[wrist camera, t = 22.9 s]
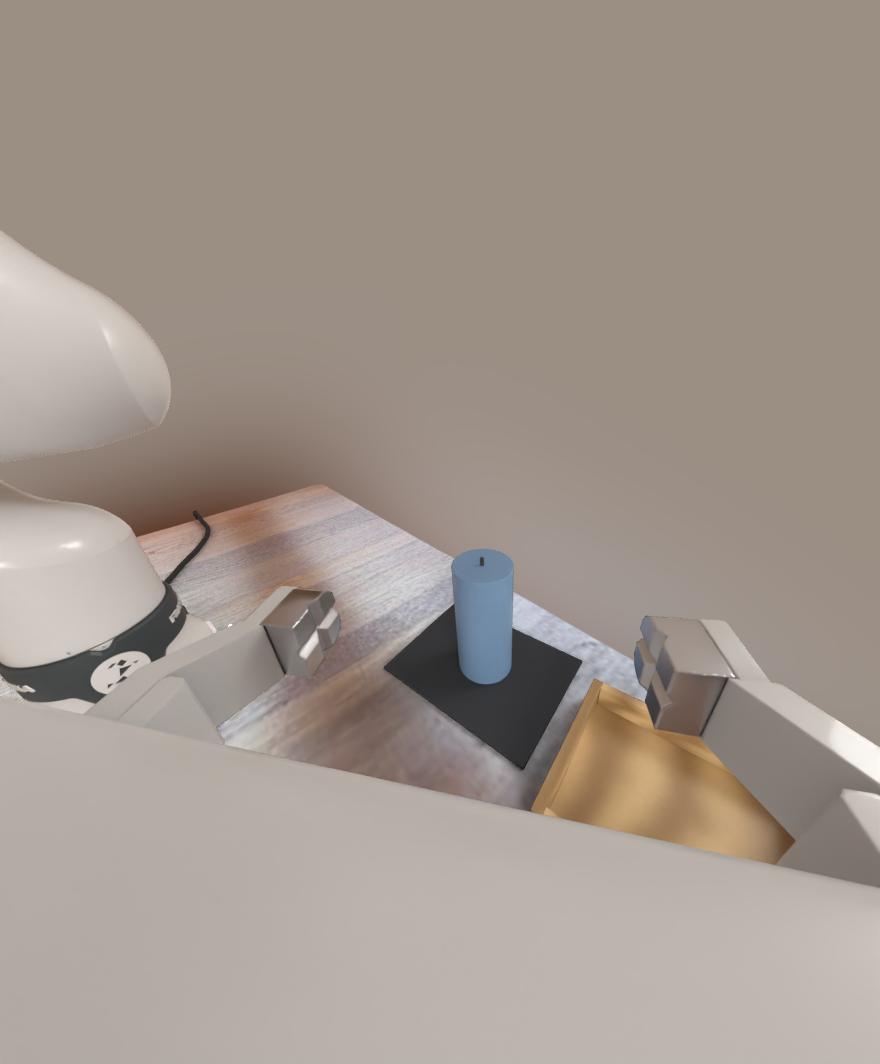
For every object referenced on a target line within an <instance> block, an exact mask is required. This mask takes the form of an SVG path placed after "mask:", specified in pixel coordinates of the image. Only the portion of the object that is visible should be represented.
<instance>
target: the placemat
mask: <svg viewBox="0 0 880 1064" xmlns="http://www.w3.org/2000/svg"><path fill="white" fill-rule="evenodd" d="M581 663H582V660H580V659H578V658H575V657H573V656H571V655H569V654H567V653H565V652H563V651H560V650H558V649H556V648H554V647H552V646H550V645H547V644H545V643H543V642H541V641H539V640H537V639H534V638H532V637H530V636H528V635H526V634H524V633H522V632H519V631H517V630H515V629H513V628H512V661H511V669H510V672H509V673H508V675H507V676H506V677H505V678H504V679H503V680H501V681H499V682H497V683H493V684H480V683H476V682H474V681H472V680H470V679H468V678H467V677H466V676H465V675H464V674H463V672H462V671H461V669H460V666H459V655H458V643H457V630H456V618H455V606H454V604H453V605H452V606H451V607H450V608H449V609H448V610H447V611H445V612H444V613H443V614H442V615H441V616H440V617H439V618H438V619H437V620H435V621H434V622H433V623H432V624H431V625H430V626H429V627H428V628H427V629H425V630H424V631H423V632H422V633H421V634H420V635H419V636H418V637H416V638H415V639H414V640H413V641H412V642H411V643H410V644H409V645H408V646H406V647H405V648H404V649H403V650H402V651H401V652H400V653H399V654H398V655H396V656H395V657H394V658H393V659H392V660H391V661H390V662H389V663H387V664H386V665H385V666H384V669H386V670H387V671H388V672H390V673H391V674H392V675H394V676H395V677H396V678H398V679H399V680H401V681H402V682H403V683H405V684H406V685H407V686H409V687H410V688H412V689H413V690H414V691H416V692H417V693H418V694H420V695H421V696H423V697H424V698H425V699H427V700H428V701H429V702H431V703H432V704H433V705H435V706H436V707H438V708H439V709H440V710H442V711H443V712H444V713H446V714H447V715H449V716H450V717H451V718H453V719H454V720H455V721H457V722H458V723H460V724H461V725H462V726H464V727H465V728H466V729H468V730H469V731H471V732H472V733H473V734H475V735H476V736H477V737H479V738H480V739H481V740H483V741H484V742H486V743H487V744H488V745H490V746H491V747H492V748H494V749H495V750H497V751H498V752H499V753H501V754H502V755H503V756H505V757H506V758H508V759H509V760H510V761H512V762H513V763H514V764H516V765H517V766H518V767H520V768H521V769H523V770H524V768H525V766H526V764H527V762H528V760H529V759H530V757H531V755H532V753H533V751H534V749H535V748H536V746H537V744H538V742H539V740H540V738H541V737H542V735H543V733H544V731H545V729H546V727H547V726H548V724H549V722H550V720H551V718H552V717H553V715H554V713H555V711H556V709H557V707H558V706H559V704H560V702H561V700H562V698H563V696H564V695H565V693H566V691H567V689H568V687H569V685H570V684H571V682H572V680H573V678H574V676H575V674H576V673H577V671H578V669H579V667H580V665H581Z"/></svg>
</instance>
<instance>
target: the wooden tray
mask: <svg viewBox="0 0 880 1064" xmlns="http://www.w3.org/2000/svg"><path fill="white" fill-rule="evenodd" d="M700 738H701V737H697V736H691V735H685V734H680V733H674V732H668V731H662V730H657V729H654V726H653V723H652V720H651V717H650V714H649V711H648V709H647V706H646V703H644V702H642V701H640V700H638V699H636V698H634V697H632V696H630V695H628V694H626V693H623V692H621V691H619V690H617V689H615V688H613V687H611V686H609V685H607V684H605V683H603V682H601V681H599V680H597V679H595V678H594V680H593V682H592V684H591V686H590V688H589V690H588V692H587V694H586V696H585V698H584V700H583V703H582V705H581V707H580V709H579V711H578V713H577V715H576V717H575V719H574V721H573V723H572V725H571V727H570V729H569V731H568V733H567V735H566V737H565V739H564V742H563V744H562V746H561V748H560V750H559V752H558V754H557V756H556V758H555V760H554V762H553V764H552V766H551V768H550V770H549V772H548V774H547V776H546V778H545V781H544V783H543V785H542V787H541V789H540V791H539V793H538V795H537V797H536V799H535V801H534V803H533V805H532V807H531V812H534V813H538V814H543V815H548V816H552V817H557V818H561V819H566V820H570V821H575V822H580V823H584V824H589V825H593V826H598V827H602V828H607V829H611V830H616V831H621V832H625V833H630V834H634V835H639V836H644V837H648V838H653V839H657V840H662V841H666V842H671V843H676V844H680V845H685V846H689V847H694V848H699V849H703V850H708V851H712V852H717V853H722V854H726V855H731V856H735V857H740V858H745V859H749V860H754V861H758V862H763V863H768V864H772V865H776V864H777V863H778V861H779V860H780V858H781V857H782V856H783V855H784V854H785V853H786V852H787V851H788V849H789V848H790V847H791V846H792V845H793V844H794V843H795V842H796V840H795V839H794V838H793V837H792V836H791V835H790V834H789V833H788V832H787V831H786V830H785V829H784V828H783V827H782V826H781V825H780V823H779V822H778V821H777V820H776V819H775V818H774V817H773V816H772V815H771V814H770V813H769V812H768V811H767V810H766V809H765V808H764V806H763V805H762V804H761V803H760V802H759V801H758V800H757V799H756V798H755V797H754V796H753V795H752V794H751V793H750V792H749V791H748V790H747V788H746V787H745V786H744V785H743V784H742V783H741V782H740V781H739V780H738V779H737V778H736V777H735V776H734V775H733V774H732V773H731V771H730V770H729V769H728V768H727V767H726V766H725V765H724V764H723V763H722V762H721V761H720V760H719V759H718V758H717V757H716V756H715V754H714V753H713V752H712V751H711V750H710V749H709V748H708V747H707V746H706V745H705V744H704V743H703V742H702V741H701V740H700Z"/></svg>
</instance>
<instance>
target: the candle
mask: <svg viewBox="0 0 880 1064" xmlns="http://www.w3.org/2000/svg"><path fill="white" fill-rule="evenodd" d="M451 569H452V581H453V593H454V606H455V618H456V630H457V643H458V655H459V666H460V669H461V671H462V672H463V674H464V675H465V676H466V677H467V678H468V679H470V680H472V681H474V682H476V683H480V684H493V683H497V682H499V681H501V680H503V679H504V678H505V677H506V676H507V675H508V673H509V672H510V669H511V661H512V619H513V575H514V564H513V562H512V560H511V559H510V558H509V557H508V556H507V555H506V554H504V553H502V552H499V551H496V550H490V549H476V550H471V551H467V552H464V553H462V554H460V555H459V556H457V557H456V558H455V559H454V560H453V562H452V565H451Z"/></svg>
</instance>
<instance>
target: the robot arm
mask: <svg viewBox="0 0 880 1064" xmlns="http://www.w3.org/2000/svg"><path fill="white" fill-rule="evenodd" d="M170 398H171V384H170V377H169V373H168V369H167V366H166V363H165V361H164V359H163V356H162V354H161V352H160V351H159V349H158V347H157V346H156V344H155V342H154V341H153V340H152V338H151V337H150V335H149V334H148V333H147V332H146V330H145V329H144V328H143V327H142V326H141V325H140V324H139V323H138V322H137V321H136V320H135V319H134V318H133V317H132V316H131V315H130V314H129V313H128V312H127V311H126V310H124V309H123V308H122V307H121V306H120V305H118V304H117V303H116V302H114V301H113V300H111V299H110V298H108V297H107V296H106V295H104V294H102V293H101V292H99V291H98V290H96V289H94V288H93V287H90V286H88V285H87V284H85V283H83V282H81V281H79V280H77V279H75V278H73V277H71V276H69V275H68V274H66V273H64V272H62V271H60V270H59V269H57V268H55V267H54V266H52V265H50V264H49V263H47V262H45V261H44V260H42V259H41V258H39V257H38V256H36V255H35V254H33V253H32V252H30V251H29V250H27V249H26V248H24V247H23V246H21V245H20V244H19V243H17V242H16V241H15V240H13V239H12V238H10V237H9V236H8V235H7V234H5V233H4V232H2V231H1V230H0V463H1V462H7V461H14V460H20V459H27V458H33V457H38V456H45V455H52V454H59V453H65V452H71V451H78V450H84V449H91V448H96V447H99V446H102V445H106V444H109V443H112V442H115V441H118V440H121V439H124V438H127V437H130V436H133V435H136V434H139V433H141V432H144V431H147V430H150V429H153V428H155V427H158V426H159V425H160V423H161V422H162V420H163V419H164V417H165V415H166V413H167V410H168V407H169V404H170ZM193 514H194V516H195V518H196V520H199V521H200V523H201V524H202V525H203V526H204V527H205V528H206V533H205V536H204V537H203V539H202V540H201V542H200V543H199V544H198V545H197V547H196V548H195V549H194V550H193V551H192V552H191V553H190V554H189V555H188V556H187V557H186V558H185V559H184V560H183V561H182V562H181V563H180V564H179V565H178V566H177V568H176V569H175V570H174V571H173V572H172V573H171V574H170V575H169V577H168V578H167V579H166V580H165V581H164V582H163V581H161V579H160V577H159V576H158V574H157V572H156V571H155V569H154V567H153V565H152V564H151V562H150V560H149V558H148V557H147V555H146V553H145V552H144V550H143V548H142V546H141V545H140V543H139V541H138V540H137V538H136V536H135V534H134V533H133V531H132V529H131V528H130V526H128V524H126V523H125V522H124V521H123V520H121V519H120V518H118V517H117V516H115V515H113V514H111V513H109V512H107V511H105V510H102V509H100V508H97V507H94V506H90V505H86V504H80V503H73V502H64V501H54V500H48V499H44V498H40V497H36V496H33V495H30V494H27V493H25V492H23V491H20V490H18V489H16V488H14V487H12V486H10V485H8V484H6V483H5V482H3V481H2V480H0V675H1V676H2V680H3V681H4V682H5V683H6V684H7V685H8V686H9V687H10V688H12V689H13V690H15V691H17V692H18V693H19V694H20V695H21V696H22V697H23V698H24V699H26V700H27V702H25V701H21V700H16V699H11V698H7V697H2V696H0V1064H880V748H879V747H878V746H876V745H875V744H873V743H872V742H870V741H869V740H867V739H865V738H864V737H862V736H861V735H859V734H858V733H856V732H855V731H853V730H851V729H850V728H848V727H847V726H845V725H844V724H842V723H840V722H839V721H837V720H836V719H834V718H833V717H831V716H830V715H828V714H826V713H825V712H823V711H822V710H820V709H819V708H817V707H815V706H814V705H812V704H810V703H809V702H808V701H806V700H805V699H803V698H801V697H800V696H798V695H797V694H795V693H794V692H792V691H790V690H789V689H787V688H786V687H784V686H783V685H781V684H776V683H771V682H770V681H769V680H768V678H767V677H766V676H765V674H764V673H763V671H762V670H761V669H760V667H759V666H758V665H757V663H756V662H755V660H754V659H753V658H752V656H751V655H750V654H749V652H748V651H747V650H746V648H745V647H744V646H743V644H742V643H741V641H740V640H739V639H738V637H737V636H736V635H735V633H734V632H733V631H732V629H731V628H730V627H729V626H728V624H727V623H725V622H724V621H721V620H704V619H695V620H694V619H684V618H669V617H657V616H645V618H644V619H643V620H642V624H641V627H640V629H641V632H642V634H643V637H644V638H642V639H641V640H639V641H638V642H637V643H636V647H635V652H634V665H635V671H636V675H637V678H638V682H639V684H640V685H641V686H643V687H644V688H645V689H646V690H647V691H648V692H647V695H646V699H645V703H646V706H647V709H648V711H649V714H650V717H651V720H652V723H653V726H654V729H657V730H662V731H668V732H674V733H680V734H685V735H691V736H697V737H701V738H700V740H701V741H702V742H703V743H704V744H705V745H706V746H707V747H708V748H709V749H710V750H711V751H712V752H713V753H714V754H715V756H716V757H717V758H718V759H719V760H720V761H721V762H722V763H723V764H724V765H725V766H726V767H727V768H728V769H729V770H730V771H731V773H732V774H733V775H734V776H735V777H736V778H737V779H738V780H739V781H740V782H741V783H742V784H743V785H744V786H745V787H746V788H747V790H748V791H749V792H750V793H751V794H752V795H753V796H754V797H755V798H756V799H757V800H758V801H759V802H760V803H761V804H762V805H763V806H764V808H765V809H766V810H767V811H768V812H769V813H770V814H771V815H772V816H773V817H774V818H775V819H776V820H777V821H778V822H779V823H780V825H781V826H782V827H783V828H784V829H785V830H786V831H787V832H788V833H789V834H790V835H791V836H792V837H793V838H794V839H795V840H796V842H795V843H794V844H793V845H792V846H791V847H790V848H789V849H788V851H787V852H786V853H785V854H784V855H783V856H782V857H781V858H780V860H779V861H778V863H777V864H776V865H772V864H768V863H763V862H758V861H754V860H749V859H745V858H740V857H735V856H731V855H726V854H722V853H717V852H712V851H708V850H703V849H699V848H694V847H689V846H685V845H680V844H676V843H671V842H666V841H662V840H657V839H653V838H648V837H644V836H639V835H634V834H630V833H625V832H621V831H616V830H611V829H607V828H602V827H598V826H593V825H589V824H584V823H580V822H575V821H570V820H566V819H561V818H557V817H552V816H548V815H543V814H538V813H534V812H529V811H525V810H520V809H516V808H511V807H506V806H502V805H497V804H493V803H488V802H484V801H479V800H474V799H470V798H465V797H461V796H456V795H452V794H447V793H442V792H438V791H433V790H429V789H424V788H419V787H415V786H410V785H406V784H401V783H396V782H392V781H387V780H383V779H378V778H373V777H369V776H364V775H360V774H355V773H350V772H346V771H341V770H337V769H332V768H327V767H323V766H318V765H314V764H309V763H305V762H300V761H295V760H291V759H286V758H282V757H277V756H272V755H268V754H263V753H259V752H254V751H249V750H245V749H240V748H236V747H231V746H226V745H224V739H223V737H222V736H221V734H220V733H219V731H218V730H217V727H218V726H219V725H221V724H222V723H223V722H225V721H226V720H227V719H229V718H230V717H231V716H233V715H234V714H235V713H237V712H238V711H239V710H241V709H242V708H243V707H245V706H246V705H247V704H249V703H250V702H251V701H253V700H254V699H255V698H257V697H258V696H259V695H261V694H262V693H263V692H265V691H266V690H267V689H269V688H270V687H271V686H273V685H274V684H275V683H277V682H278V681H279V680H281V679H282V678H283V677H285V675H293V676H301V677H310V678H313V676H314V675H315V673H316V672H317V670H318V668H319V667H320V665H321V664H322V662H323V661H324V659H325V653H324V651H326V650H327V649H329V648H330V647H332V646H333V645H334V644H335V642H336V640H337V639H338V636H339V633H340V629H341V620H340V616H339V613H338V612H337V611H336V610H335V609H334V608H333V605H334V603H335V599H334V596H333V593H332V592H330V591H328V590H321V589H312V588H302V587H290V586H282V587H279V588H277V589H276V590H275V591H274V592H273V593H272V594H271V595H270V596H269V597H268V598H267V599H266V600H265V601H264V602H263V603H262V604H261V605H260V606H259V607H258V608H257V609H256V610H255V611H254V612H253V613H251V614H250V615H249V616H248V617H247V618H246V619H245V620H244V621H243V622H242V623H235V624H233V625H229V626H228V627H226V628H224V629H222V630H220V631H218V632H217V631H216V630H215V628H214V626H213V625H212V623H211V622H210V621H204V620H203V619H201V618H199V617H196V616H193V615H189V614H188V612H187V610H186V608H185V607H184V606H182V603H181V600H180V598H179V596H178V595H177V594H176V592H175V591H173V589H172V588H171V586H170V585H169V584H170V583H171V581H172V580H173V579H174V578H175V577H176V576H177V575H178V573H179V572H180V571H181V570H182V569H183V567H184V566H185V565H186V564H187V563H188V562H189V561H190V560H191V559H192V558H193V557H194V556H195V555H196V554H197V553H198V552H199V551H200V549H201V548H202V547H203V545H204V544H205V542H206V541H207V539H208V538H209V535H210V527H209V525H208V524H207V523H206V522H205V521H204V520H203V519H202V517H201V516H200V515H199V513H198V512H197V511H194V512H193Z"/></svg>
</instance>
